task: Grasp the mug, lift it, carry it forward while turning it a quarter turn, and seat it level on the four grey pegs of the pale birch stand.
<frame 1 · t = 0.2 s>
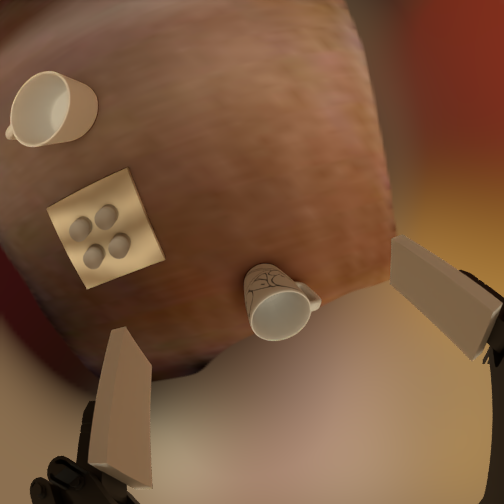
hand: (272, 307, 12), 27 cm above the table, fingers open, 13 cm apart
peg stand: (104, 231, 35), on the table
mug 2: (271, 279, 45), on the table
mug: (62, 117, 27), on the table
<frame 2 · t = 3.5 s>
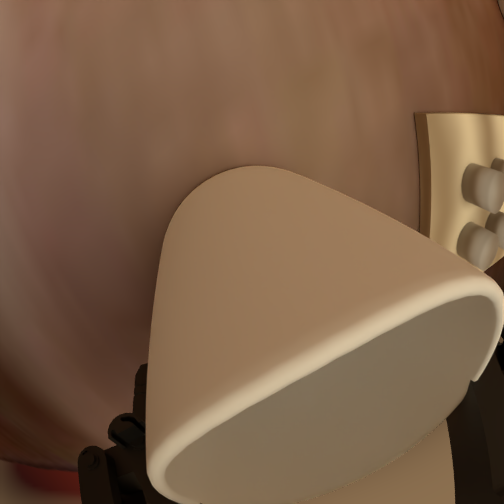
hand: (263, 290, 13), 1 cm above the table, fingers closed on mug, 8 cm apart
peg stand: (473, 201, 16), on the table
mug: (254, 280, 14), on the table, touching gripper
when the fingers open (6 cm above the table, at t = 7.5 s): mug drops 1 cm, resting on peg stand.
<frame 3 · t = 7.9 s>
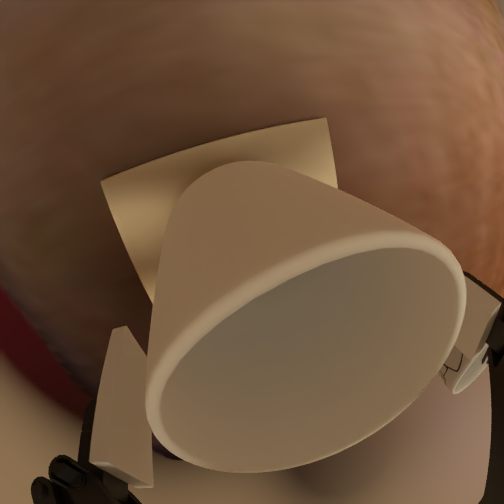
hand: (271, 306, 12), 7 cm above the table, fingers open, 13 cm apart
peg stand: (241, 244, 18), on the table
mug 2: (434, 313, 28), on the table
mug: (249, 266, 15), point 3 cm above the table, touching peg stand
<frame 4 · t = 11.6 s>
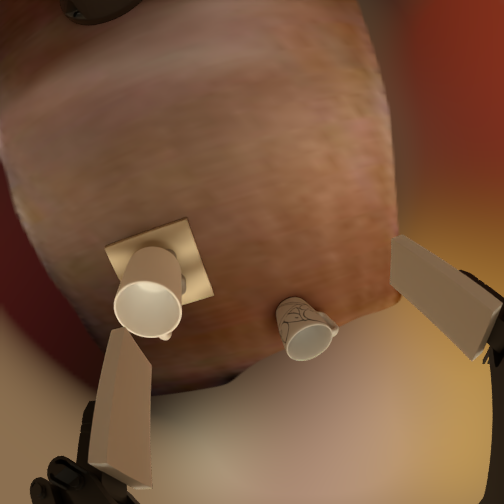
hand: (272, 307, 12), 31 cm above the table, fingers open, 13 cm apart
peg stand: (160, 270, 43), on the table
mug 2: (297, 308, 53), on the table
mug: (157, 280, 40), point 3 cm above the table, touching peg stand
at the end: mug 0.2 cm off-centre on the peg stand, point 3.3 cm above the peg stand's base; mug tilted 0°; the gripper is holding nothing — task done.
